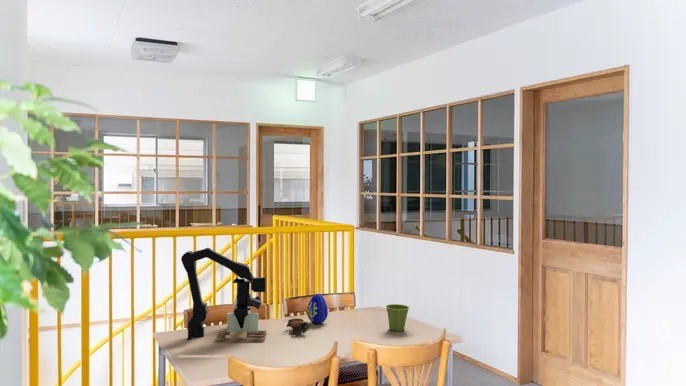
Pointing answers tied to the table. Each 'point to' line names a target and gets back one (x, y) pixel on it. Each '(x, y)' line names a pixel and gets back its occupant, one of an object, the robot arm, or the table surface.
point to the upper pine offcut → (238, 333)
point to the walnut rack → (251, 337)
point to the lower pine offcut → (233, 337)
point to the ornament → (317, 309)
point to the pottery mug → (298, 326)
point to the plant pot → (397, 316)
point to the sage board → (249, 323)
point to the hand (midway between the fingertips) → (242, 326)
